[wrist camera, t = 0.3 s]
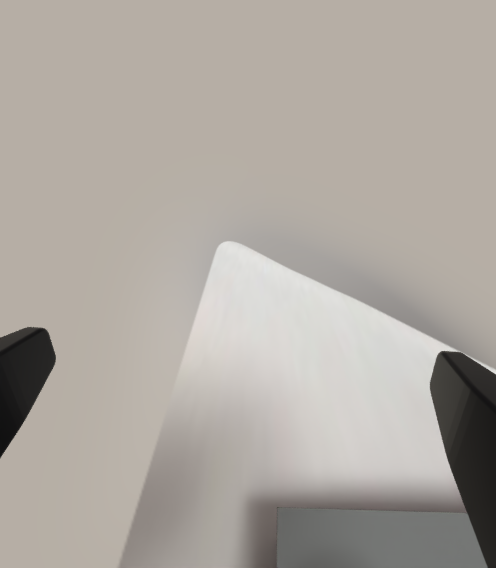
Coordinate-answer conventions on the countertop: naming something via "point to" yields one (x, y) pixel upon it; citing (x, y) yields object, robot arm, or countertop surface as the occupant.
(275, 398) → the countertop surface
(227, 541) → the countertop surface
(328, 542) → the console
